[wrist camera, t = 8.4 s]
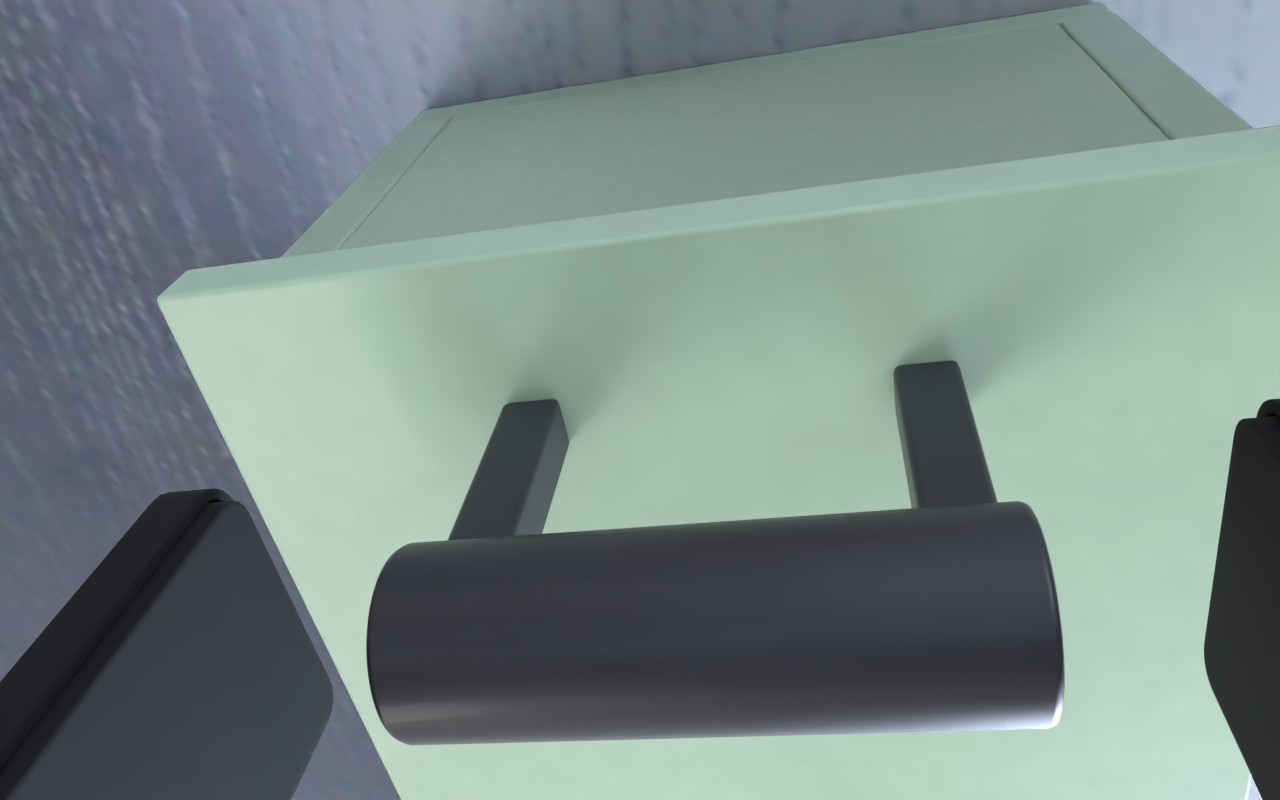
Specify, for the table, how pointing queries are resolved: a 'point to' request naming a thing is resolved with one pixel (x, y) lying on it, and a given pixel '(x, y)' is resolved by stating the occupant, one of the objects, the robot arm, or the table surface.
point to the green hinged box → (775, 127)
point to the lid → (774, 480)
